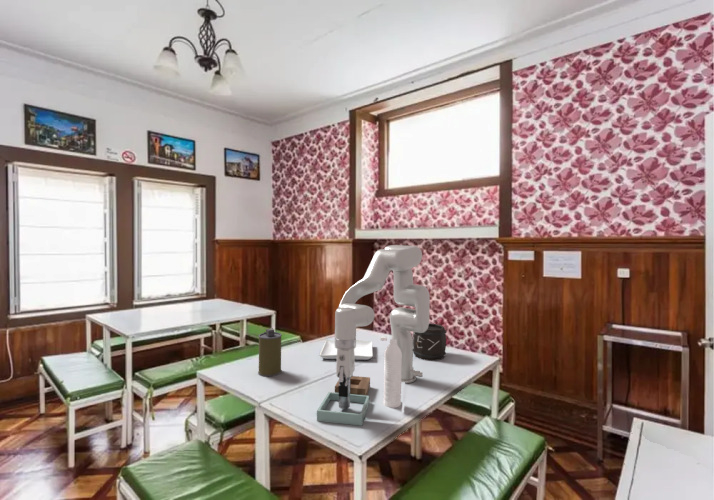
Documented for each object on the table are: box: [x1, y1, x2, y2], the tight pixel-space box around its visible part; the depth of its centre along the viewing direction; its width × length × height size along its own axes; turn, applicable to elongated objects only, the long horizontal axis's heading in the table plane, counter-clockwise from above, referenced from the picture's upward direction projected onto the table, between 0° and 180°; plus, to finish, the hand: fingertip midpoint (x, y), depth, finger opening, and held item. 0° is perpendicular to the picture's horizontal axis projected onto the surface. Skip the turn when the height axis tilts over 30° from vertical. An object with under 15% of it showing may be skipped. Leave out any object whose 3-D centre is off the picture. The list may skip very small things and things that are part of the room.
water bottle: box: [379, 336, 402, 409], centre depth 138 cm, size 9×6×25 cm
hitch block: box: [334, 375, 371, 396], centre depth 147 cm, size 12×12×5 cm
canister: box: [257, 327, 283, 377], centre depth 170 cm, size 11×10×20 cm
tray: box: [316, 391, 370, 427], centre depth 132 cm, size 16×16×4 cm
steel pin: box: [337, 373, 354, 410], centre depth 132 cm, size 6×6×12 cm
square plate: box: [318, 339, 374, 361], centre depth 200 cm, size 27×27×4 cm
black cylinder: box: [412, 322, 447, 361], centre depth 198 cm, size 18×18×16 cm
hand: (344, 393), depth 132 cm, fingers closed on steel pin, 4 cm apart
